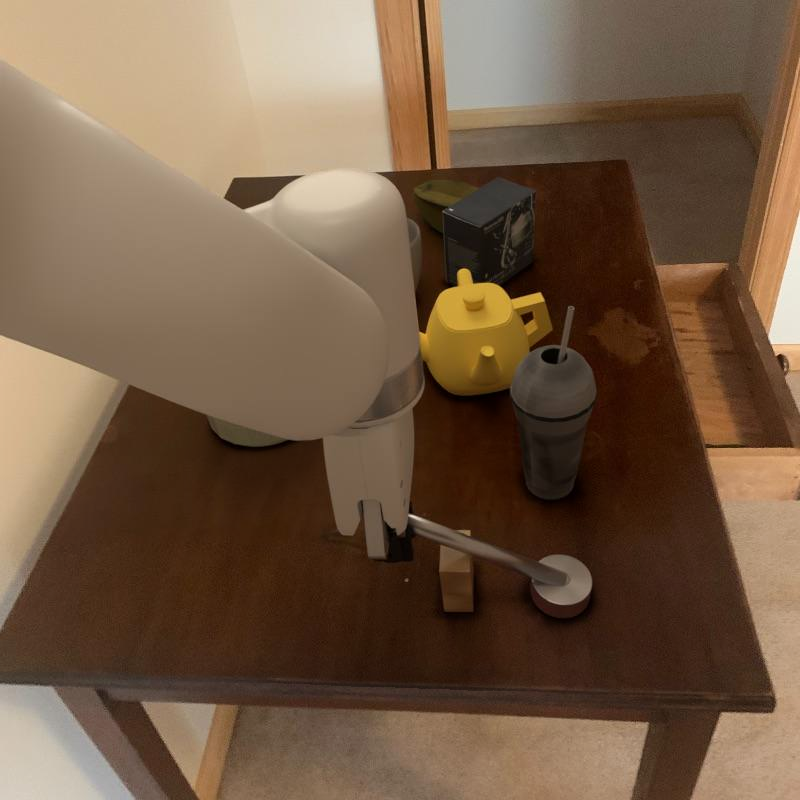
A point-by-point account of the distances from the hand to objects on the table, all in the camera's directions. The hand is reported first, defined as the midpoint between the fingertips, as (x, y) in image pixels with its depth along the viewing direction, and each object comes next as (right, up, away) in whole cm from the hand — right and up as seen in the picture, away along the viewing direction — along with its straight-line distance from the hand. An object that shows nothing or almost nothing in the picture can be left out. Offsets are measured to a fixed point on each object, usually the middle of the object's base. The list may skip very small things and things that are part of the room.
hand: (394, 546), depth 60 cm
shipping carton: (+5, -5, +4) cm, 8 cm away
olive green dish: (+9, +36, +48) cm, 60 cm away
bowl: (-14, +11, +24) cm, 30 cm away
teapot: (+9, +15, +25) cm, 30 cm away
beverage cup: (+15, +4, +12) cm, 19 cm away
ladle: (+7, -4, +3) cm, 9 cm away
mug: (-2, +24, +36) cm, 44 cm away
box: (+12, +28, +38) cm, 49 cm away
